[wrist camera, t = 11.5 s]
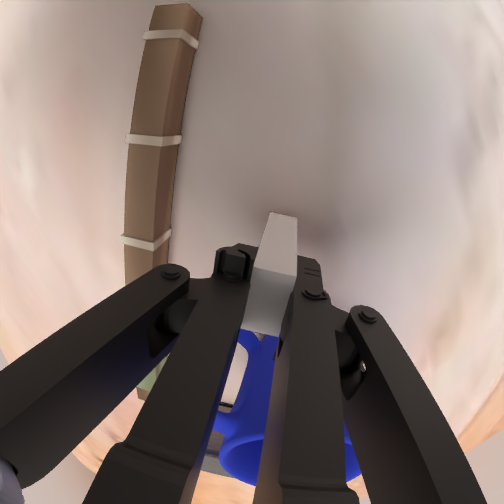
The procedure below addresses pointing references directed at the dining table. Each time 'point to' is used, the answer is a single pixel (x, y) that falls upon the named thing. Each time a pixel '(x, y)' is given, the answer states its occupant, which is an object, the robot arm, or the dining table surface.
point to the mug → (257, 415)
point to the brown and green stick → (156, 144)
